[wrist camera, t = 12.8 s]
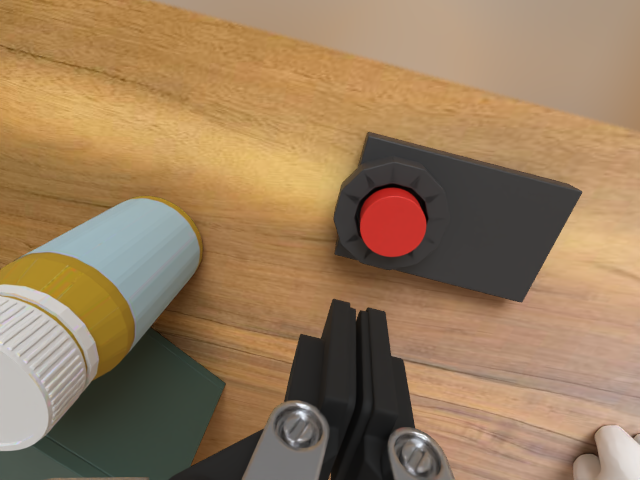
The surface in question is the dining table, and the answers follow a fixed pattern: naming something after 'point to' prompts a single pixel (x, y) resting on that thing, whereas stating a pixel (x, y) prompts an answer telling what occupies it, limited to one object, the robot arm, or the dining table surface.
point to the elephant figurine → (610, 457)
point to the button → (392, 222)
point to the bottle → (85, 308)
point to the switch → (458, 216)
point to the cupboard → (127, 420)
